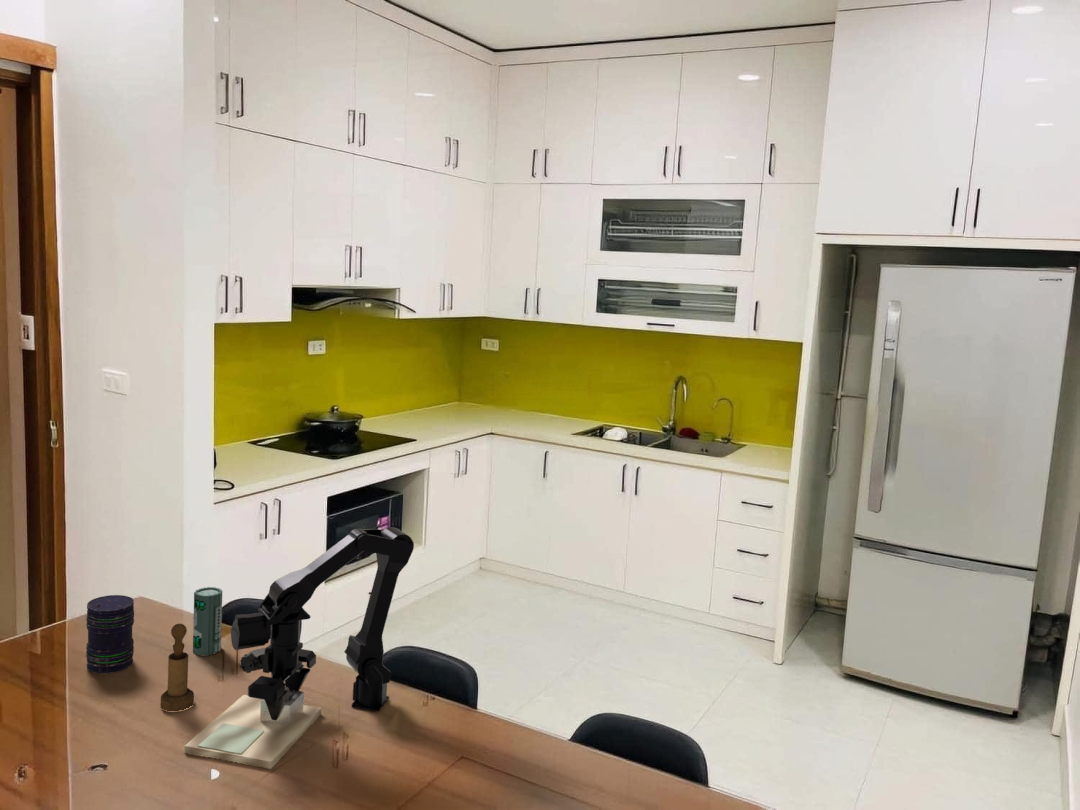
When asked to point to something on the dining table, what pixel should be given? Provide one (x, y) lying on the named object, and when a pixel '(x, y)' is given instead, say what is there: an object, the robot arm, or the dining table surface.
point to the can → (207, 621)
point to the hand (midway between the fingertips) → (282, 712)
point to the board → (250, 734)
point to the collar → (285, 709)
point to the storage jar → (110, 633)
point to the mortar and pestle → (177, 675)
